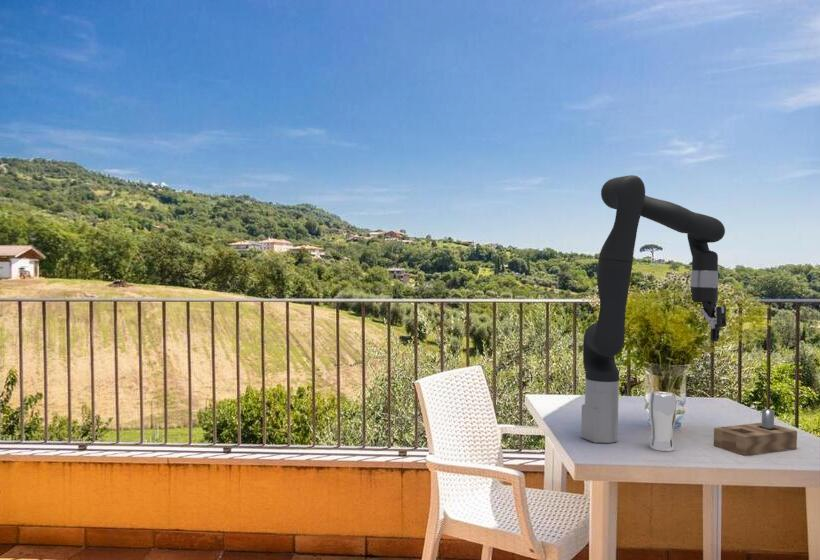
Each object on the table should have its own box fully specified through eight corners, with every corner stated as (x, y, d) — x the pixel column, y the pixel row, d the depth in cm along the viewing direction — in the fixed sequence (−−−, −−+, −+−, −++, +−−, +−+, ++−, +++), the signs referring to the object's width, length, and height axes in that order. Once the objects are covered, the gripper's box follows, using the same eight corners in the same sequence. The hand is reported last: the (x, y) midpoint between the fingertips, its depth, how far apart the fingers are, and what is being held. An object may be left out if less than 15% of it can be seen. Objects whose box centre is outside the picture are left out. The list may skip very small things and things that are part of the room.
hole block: (745, 455, 166) (745, 437, 166) (713, 445, 176) (714, 427, 176) (796, 448, 174) (797, 430, 174) (763, 439, 183) (764, 422, 183)
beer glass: (652, 443, 177) (654, 390, 177) (678, 448, 173) (680, 393, 172) (644, 448, 172) (645, 393, 171) (670, 453, 167) (672, 397, 167)
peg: (768, 447, 175) (769, 411, 175) (758, 444, 178) (759, 409, 178) (775, 446, 176) (776, 410, 176) (765, 443, 179) (766, 408, 179)
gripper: (676, 284, 194) (674, 337, 194) (714, 286, 181) (713, 342, 181) (694, 285, 197) (692, 336, 197) (733, 286, 184) (731, 342, 184)
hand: (702, 339), depth 189 cm, fingers open, 8 cm apart
